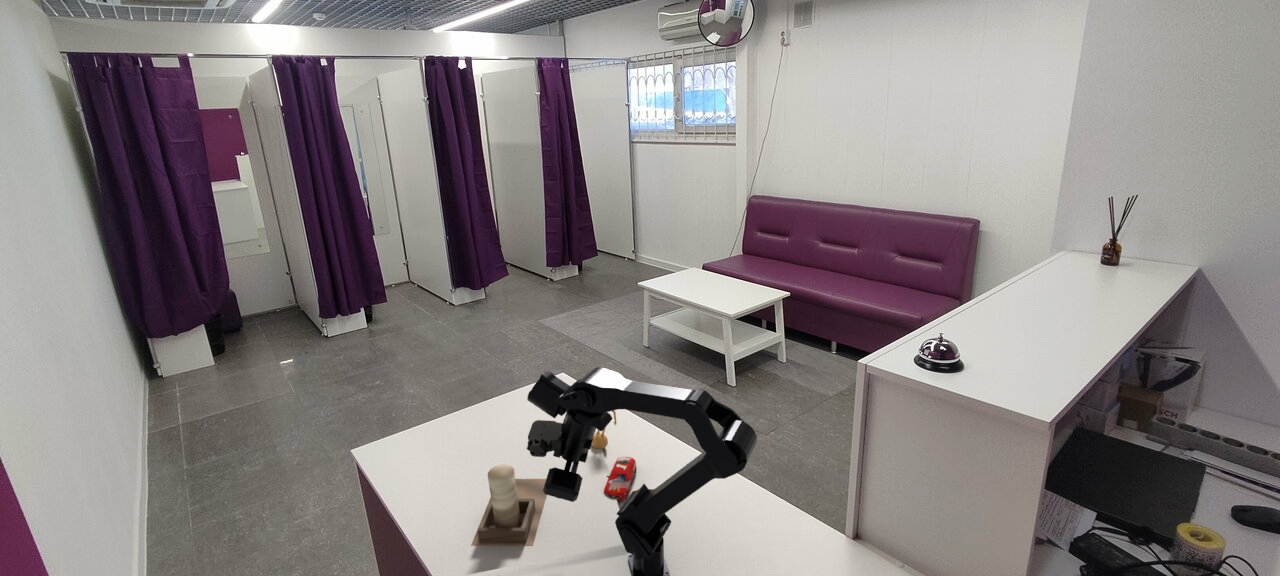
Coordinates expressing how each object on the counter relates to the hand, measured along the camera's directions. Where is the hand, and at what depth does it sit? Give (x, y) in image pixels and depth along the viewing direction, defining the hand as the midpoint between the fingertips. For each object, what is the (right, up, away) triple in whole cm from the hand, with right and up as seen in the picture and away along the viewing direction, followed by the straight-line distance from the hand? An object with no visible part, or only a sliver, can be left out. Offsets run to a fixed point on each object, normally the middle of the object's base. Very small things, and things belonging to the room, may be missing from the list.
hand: (563, 476), depth 114 cm
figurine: (+6, -2, +30) cm, 31 cm away
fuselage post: (-11, -11, +3) cm, 16 cm away
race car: (+11, -7, +17) cm, 21 cm away
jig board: (-11, -10, +8) cm, 17 cm away
